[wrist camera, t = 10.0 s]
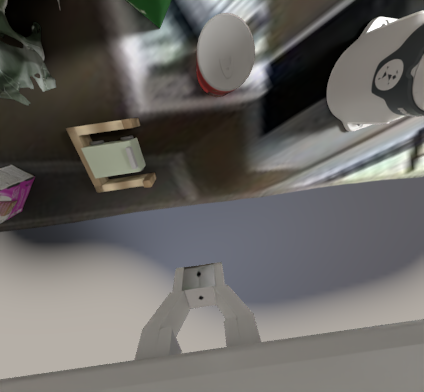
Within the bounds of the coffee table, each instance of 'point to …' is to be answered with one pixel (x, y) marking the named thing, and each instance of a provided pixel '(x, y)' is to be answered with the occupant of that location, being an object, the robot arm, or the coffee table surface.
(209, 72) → the canned food
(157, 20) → the milk carton
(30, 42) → the rose bouquet
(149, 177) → the frame
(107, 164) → the pale green box
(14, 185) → the candy bar box
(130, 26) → the coffee table surface
